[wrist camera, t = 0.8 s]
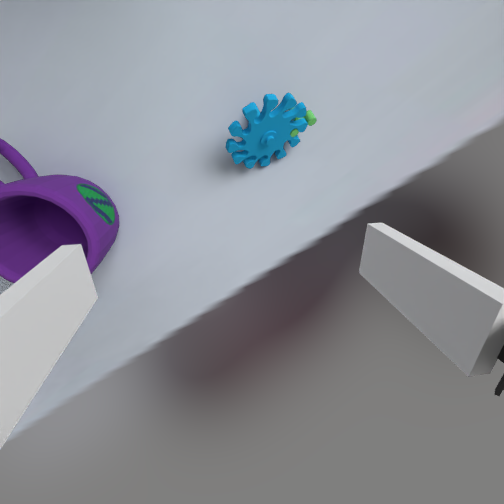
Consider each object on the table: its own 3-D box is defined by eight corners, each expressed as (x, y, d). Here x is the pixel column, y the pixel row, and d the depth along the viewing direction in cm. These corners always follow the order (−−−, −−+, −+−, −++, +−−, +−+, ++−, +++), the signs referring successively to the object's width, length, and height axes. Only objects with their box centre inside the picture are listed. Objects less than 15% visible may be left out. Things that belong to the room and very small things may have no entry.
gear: (231, 180, 34) (227, 116, 25) (216, 146, 36) (207, 75, 27) (307, 157, 36) (330, 88, 27) (289, 125, 38) (305, 51, 29)
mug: (143, 227, 37) (123, 258, 28) (77, 267, 38) (36, 310, 29) (41, 101, 29) (-32, 87, 20) (-39, 154, 30) (-143, 164, 21)
